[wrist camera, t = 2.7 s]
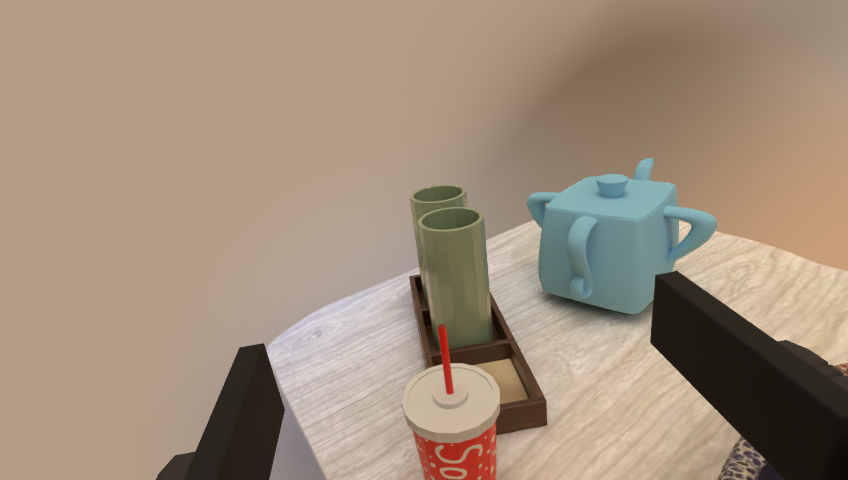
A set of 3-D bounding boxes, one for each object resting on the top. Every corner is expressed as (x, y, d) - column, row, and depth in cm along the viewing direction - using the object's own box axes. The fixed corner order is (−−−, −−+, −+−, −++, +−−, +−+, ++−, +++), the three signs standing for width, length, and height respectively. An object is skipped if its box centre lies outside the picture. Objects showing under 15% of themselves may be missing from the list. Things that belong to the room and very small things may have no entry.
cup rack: (547, 425, 37) (546, 400, 36) (441, 445, 36) (437, 421, 35) (477, 282, 60) (476, 264, 59) (411, 293, 59) (409, 276, 58)
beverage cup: (406, 527, 31) (371, 353, 25) (434, 452, 36) (410, 295, 30) (499, 550, 28) (482, 366, 23) (514, 467, 34) (504, 301, 28)
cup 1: (417, 315, 54) (400, 202, 49) (436, 290, 59) (423, 184, 54) (466, 321, 52) (454, 203, 46) (482, 294, 57) (472, 184, 51)
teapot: (719, 321, 46) (739, 192, 41) (553, 334, 48) (552, 211, 42) (645, 246, 63) (652, 148, 58) (523, 257, 64) (520, 162, 59)
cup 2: (426, 357, 47) (407, 229, 41) (446, 324, 52) (432, 206, 46) (483, 367, 44) (471, 232, 39) (499, 331, 49) (491, 207, 44)
